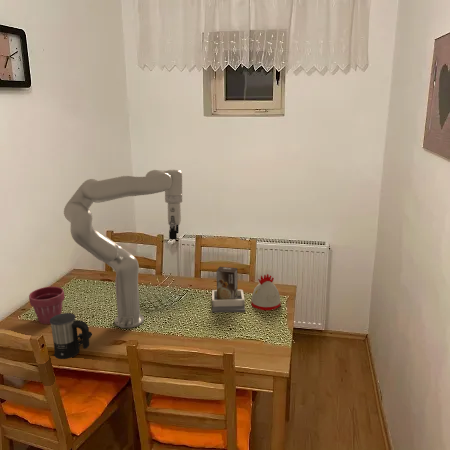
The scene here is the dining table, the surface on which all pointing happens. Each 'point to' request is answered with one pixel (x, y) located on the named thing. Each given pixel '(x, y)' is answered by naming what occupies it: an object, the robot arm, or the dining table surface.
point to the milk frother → (68, 335)
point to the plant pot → (47, 302)
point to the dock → (228, 303)
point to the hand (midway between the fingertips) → (174, 236)
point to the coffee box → (227, 283)
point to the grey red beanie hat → (265, 295)
